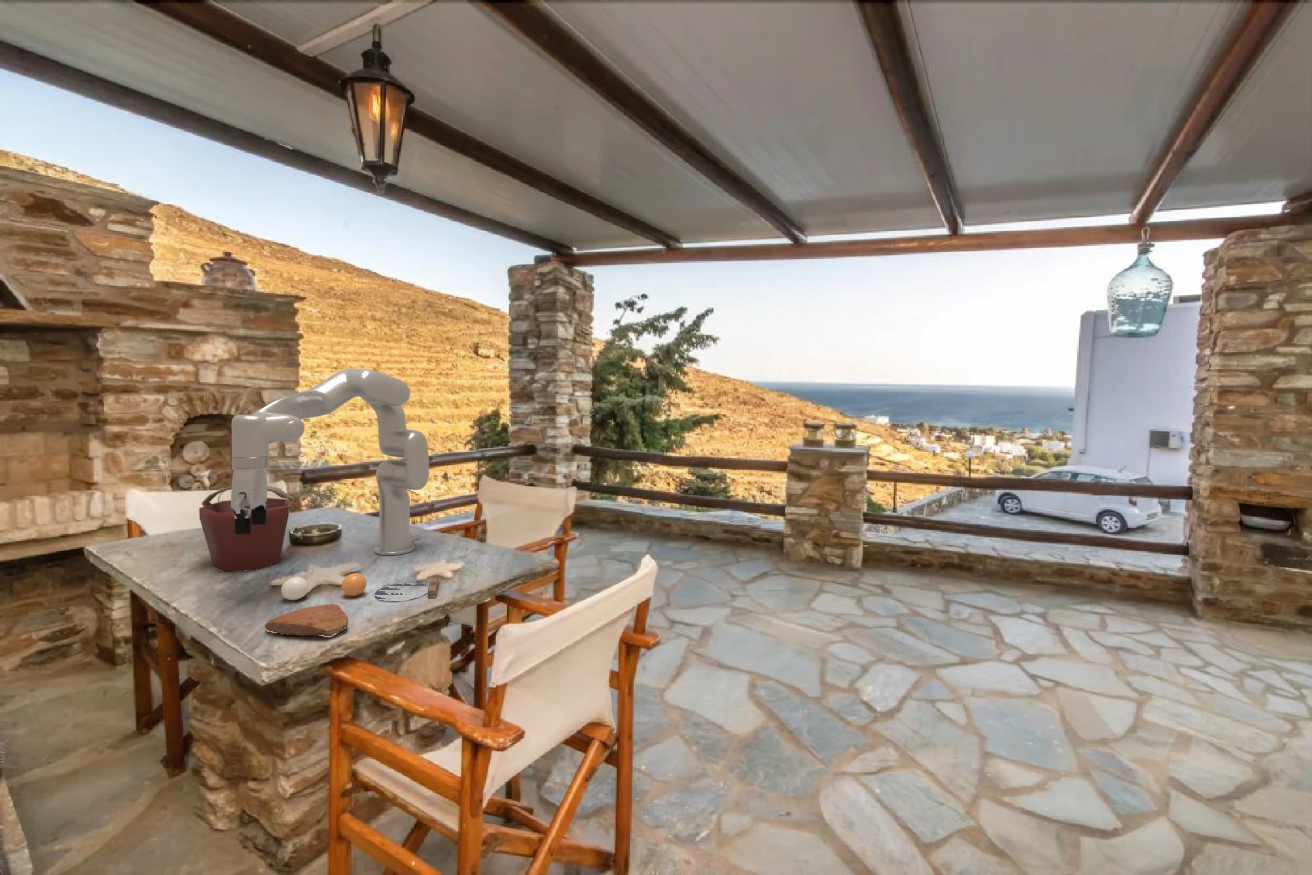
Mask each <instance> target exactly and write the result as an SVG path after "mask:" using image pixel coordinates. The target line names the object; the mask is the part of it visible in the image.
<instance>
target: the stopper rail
mask: <svg viewBox="0 0 1312 875" xmlns="http://www.w3.org/2000/svg"><path fill="white" fill-rule="evenodd" d="M439 580H440V576H439V575H434V576H431V578H430V580H429V581H430V582H429V584H428V587H429V588H428V593H427V598H428V597H430V596H431V597H433V596H436V597H437V593H436V592H438V588H439V584H438V582H440V581H439ZM437 587H438V588H437Z"/></svg>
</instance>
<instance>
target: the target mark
mask: <svg viewBox="0 0 1312 875" xmlns="http://www.w3.org/2000/svg"><path fill="white" fill-rule="evenodd" d="M404 583H405V584H404V585H402V584H398V583H393V584H389V585H388V586H428V585H427V584H424V583H421V584H416V585H411V584H406V583H407V582H404ZM379 590H400V589H397V588H395V589H394V588H389V587H386V586H383V587H380V588H379V589H377V590H376V591H375V593H374V594H373V595H389V594H387V593H385V591H379ZM391 595H399V594H398V593H396V594H394V593H391ZM400 595H403V594H402V593H400ZM405 595H406V594H405ZM374 598H375V599H376V598H377V599H376V600H378V599H385V598H381V597H377V596H375V597H374Z"/></svg>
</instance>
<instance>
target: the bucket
mask: <svg viewBox="0 0 1312 875" xmlns="http://www.w3.org/2000/svg"><path fill="white" fill-rule="evenodd" d="M231 489H232V485H231V486H227V487H226V488H225V487H224V488H222V489H220V490H217V491H215V492H212V493H210V494H209V495H207V497H205V499H203V501H202V502H201V506H202V507H199V508H198V509H199V510H198V511H199V512H198V515H199V522H200V524H201V528H202V531H203V534H204V538H205V541H206V545H207V548H208V552H209V555H210V558H211V562H212V566H213V568H214V567H215V568H214V569H216V568H217V569H216V570H218V569H220V570H222V571H224V572H223V573H225V572H227V573H232V572H231V571H243V572H245V571H244V570H256V569H259V570H262V569H265V567H266V568H268V566H269V567H272V566H271V565H273V566H276V565H279V564H280V561H281V560H280V559H281V556H282V550H283V547H284V546H283V545H284V540H285V535H286V530H287V524H288V520H289V516H290V507H291V506H292V505H293V504H294V503H295V499H294V497H293V496H292V495H291V494H289V493H287V492H285V491H284V490H282V488H279V487H275V486H270V485H267V492H272V493H274V494H275V495H276V496H278V497H279V498H274V497H273V498H272V497H267V500H266V505H267V507H266V524H264V525H252V522H251V533H250V534H235V518H234V516H235V514H234V509H232V508H231V499H229V500H221V501H218V502H214V503H211V501H212V500H213V499H215V497H216V496H218V495H219V494H221V493H223V492H226V491H228V490H231ZM251 510H252V509H251ZM244 511H245V512H246V511H247V510H244ZM249 518H251V513H250V516H249ZM261 568H262V569H261ZM220 570H219V571H220ZM222 571H221V572H222ZM256 571H257V570H256Z"/></svg>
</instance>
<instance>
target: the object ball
mask: <svg viewBox="0 0 1312 875" xmlns="http://www.w3.org/2000/svg"><path fill="white" fill-rule="evenodd" d="M367 584H368V582H367V578H366V577H365V576H363V575H362V574H360V573H350V574H348V575H347V576H346V577H345V578H343V580H342V582H341V590H342V592H343V593H344V594H345V595H346V596H348V597H356V596H359V595H361V594H362V593H363V592H364V591H365V590H366V588H367Z"/></svg>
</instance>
